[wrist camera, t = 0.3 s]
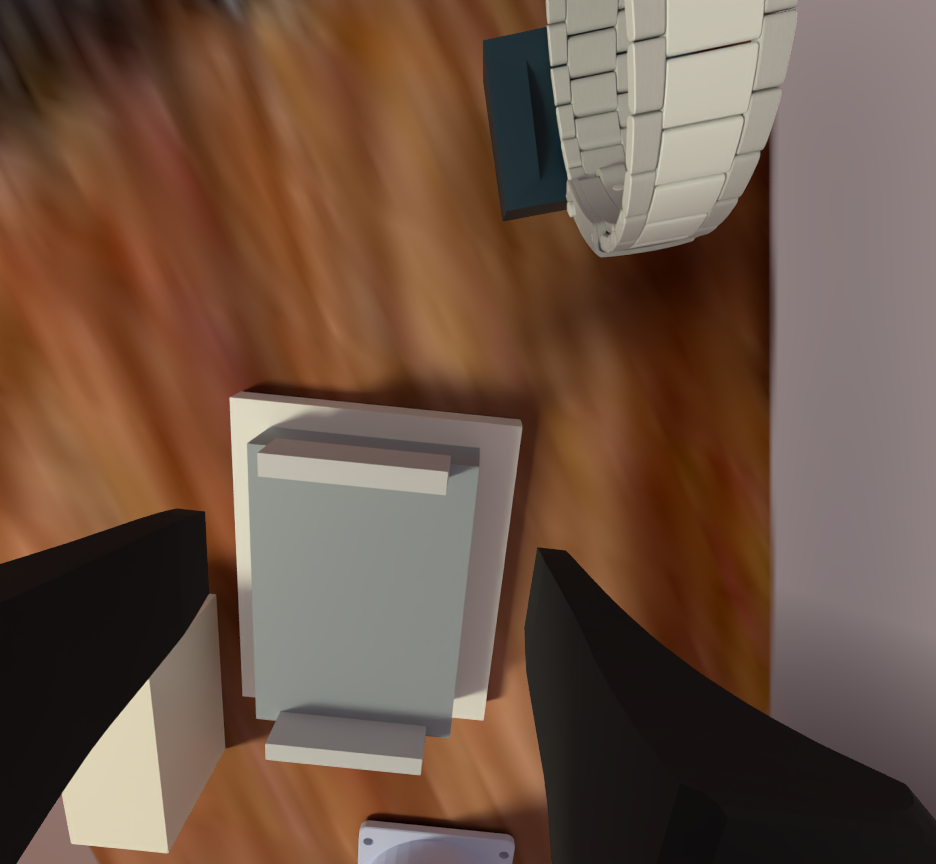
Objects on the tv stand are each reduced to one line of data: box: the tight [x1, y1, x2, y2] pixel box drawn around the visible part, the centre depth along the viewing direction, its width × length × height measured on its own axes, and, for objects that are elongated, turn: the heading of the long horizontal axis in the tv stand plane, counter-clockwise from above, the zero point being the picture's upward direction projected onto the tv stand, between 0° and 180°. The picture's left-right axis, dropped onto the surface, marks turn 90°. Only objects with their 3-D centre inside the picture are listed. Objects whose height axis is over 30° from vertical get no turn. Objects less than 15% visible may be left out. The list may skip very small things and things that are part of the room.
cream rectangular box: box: [62, 594, 225, 853], centre depth 22 cm, size 9×4×5 cm, turn 175°
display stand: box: [230, 392, 522, 775], centre depth 20 cm, size 14×11×4 cm
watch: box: [483, 0, 799, 257], centre depth 12 cm, size 6×8×11 cm
